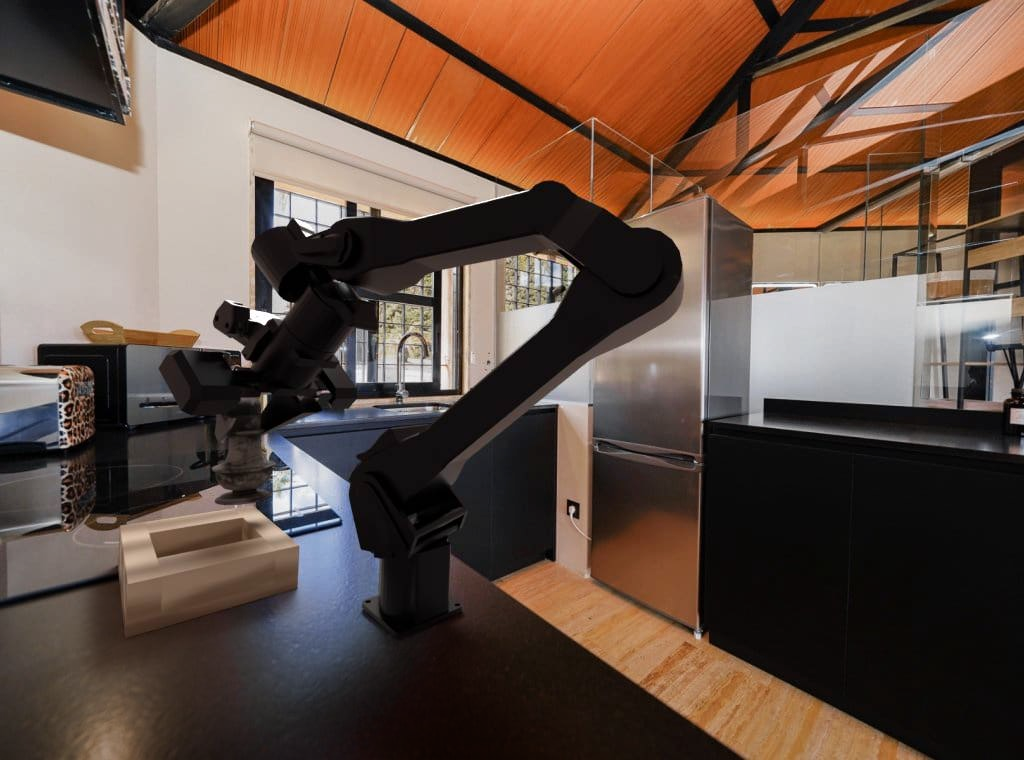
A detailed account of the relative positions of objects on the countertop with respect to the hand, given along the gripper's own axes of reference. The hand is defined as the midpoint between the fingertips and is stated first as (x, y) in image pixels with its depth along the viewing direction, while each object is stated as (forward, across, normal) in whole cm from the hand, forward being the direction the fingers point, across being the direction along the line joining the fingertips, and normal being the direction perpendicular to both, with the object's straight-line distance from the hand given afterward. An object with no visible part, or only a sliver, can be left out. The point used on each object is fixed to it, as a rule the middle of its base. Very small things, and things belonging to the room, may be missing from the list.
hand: (237, 436), depth 46 cm
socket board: (+8, +4, +11) cm, 14 cm away
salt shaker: (+4, 0, +6) cm, 7 cm away
